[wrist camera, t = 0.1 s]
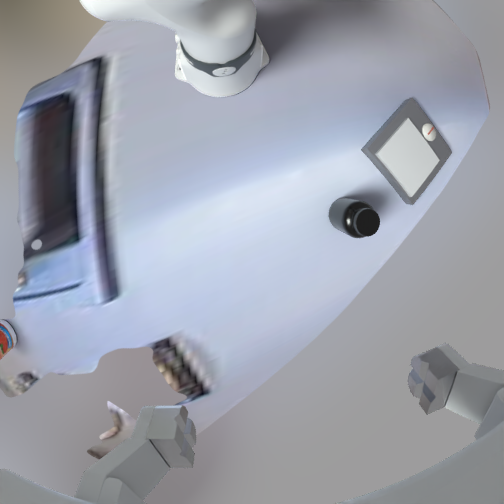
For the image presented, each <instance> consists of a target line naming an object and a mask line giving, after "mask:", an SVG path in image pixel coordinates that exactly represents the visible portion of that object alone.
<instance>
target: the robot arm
mask: <svg viewBox="0 0 504 504" xmlns="http://www.w3.org/2000/svg"><path fill="white" fill-rule="evenodd" d="M80 2H81V4H82V5H83V7H84V8H85V9H86V10H87V11H88V12H89V13H90V14H92V15H93V16H95V17H97V18H99V19H101V20H104V21H107V22H110V21H122V20H136V21H145V22H150V23H154V24H158V25H161V26H164V27H167V28H169V29H171V30H173V31H175V32H176V35H175V39H176V43H178V47H177V49H176V53H177V57H176V67H175V76H176V78H177V79H178V80H180V81H184V82H187V83H189V84H190V85H192V86H193V87H194V88H195V89H196V90H198V91H199V92H201V93H203V94H205V95H208V96H212V97H228V96H232V95H235V94H238V93H240V92H242V91H243V90H245V89H246V88H248V87H249V86H250V85H251V84H252V82H253V81H254V80H255V78H256V76H257V74H258V72H259V71H260V70H261V69H262V68H264V67H265V66H266V65H267V64H268V63H269V56H268V54H267V52H266V50H265V48H264V46H263V44H262V42H261V40H260V38H259V36H258V34H257V32H256V29H255V23H256V16H257V11H256V7H255V4H254V2H253V1H252V0H80ZM180 68H181V70H180ZM411 366H412V367H413V369H412V370H411V372H410V373H409V377H408V385H409V389H410V391H411V393H412V394H413V396H415V397H417V398H420V400H419V404H420V406H421V407H422V409H423V410H424V411H425V413H426V414H427V415H428V414H430V413H432V412H434V411H436V410H439V409H441V408H443V407H445V408H447V409H449V410H451V411H453V412H455V413H457V414H460V415H461V416H464V417H466V418H468V419H470V420H472V421H474V422H476V423H479V424H480V426H479V428H478V430H477V431H476V433H475V438H476V441H475V442H473V443H471V444H470V445H468V446H467V447H465V448H463V449H462V450H460V451H459V452H457V453H455V454H454V455H452V456H450V457H448V458H447V459H445V460H443V461H442V462H439V463H438V464H436V465H434V466H432V467H430V468H428V469H426V470H424V471H422V472H420V473H418V474H416V475H414V476H411V477H409V478H407V479H404V480H402V481H400V482H398V483H395V484H393V485H390V486H388V487H385V488H382V489H380V490H377V491H374V492H372V493H368V494H366V495H362V496H359V497H356V498H353V499H350V500H346V501H343V502H339V503H335V504H504V370H499V369H495V368H491V367H487V366H483V365H479V364H475V363H472V364H469V363H468V362H467V361H466V360H465V359H464V358H463V357H462V356H461V355H460V354H459V353H458V352H457V351H456V350H454V349H453V348H452V347H451V346H450V345H449V344H447V343H444V344H442V345H440V346H438V347H435V348H433V349H430V350H428V351H426V352H423V353H421V354H418V355H416V356H414V357H413V358H412V361H411ZM187 417H188V411H187V409H186V407H185V406H144V407H143V408H142V409H141V411H140V414H139V417H138V419H137V422H136V425H135V428H134V431H133V434H132V437H131V438H127V439H126V440H124V441H123V442H122V443H121V444H119V445H118V446H117V447H116V448H114V449H113V450H112V451H110V452H109V453H108V454H107V455H105V456H104V457H103V458H101V459H100V460H99V461H97V462H96V463H95V464H94V465H92V466H91V467H89V468H88V469H87V470H85V471H84V473H83V476H82V478H81V481H80V483H79V486H78V489H77V491H76V494H75V497H72V496H69V495H66V494H63V493H60V492H57V491H55V490H52V489H49V488H47V487H44V486H42V485H40V484H37V483H35V482H33V481H30V480H28V479H26V478H24V477H22V476H20V475H18V474H16V473H14V472H12V471H10V470H7V469H0V504H147V503H145V502H144V501H143V500H144V499H145V498H146V497H147V495H148V494H149V493H150V492H151V491H152V490H153V489H154V488H155V486H156V485H157V484H158V483H159V482H160V481H161V479H162V478H163V477H164V476H165V475H166V474H167V472H168V471H169V470H170V468H193V463H194V455H195V453H194V451H193V450H192V447H193V446H194V445H195V444H196V429H195V426H194V423H193V421H192V420H191V419H189V418H187Z"/></svg>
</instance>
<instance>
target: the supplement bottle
mask: <svg viewBox="0 0 504 504" xmlns="http://www.w3.org/2000/svg"><path fill="white" fill-rule="evenodd" d="M329 219H330V222H331V224H332V225H333V226H334V227H335V228H336V229H338V230H340V231H341V232H343V233H345V234H347V235H349V236H351V237H354V238H363V237H365V236H371V235H373V234H375V233H376V232H377V230H378V228H379V225H380V218H379V216H378V214H377V213H376V212H375V211H374V210H373V208H372V207H371V206H370V205H369V204H368V203H366V202H364V201H360V200H355V199H349V198H340V199H338V200H336V201H335V202H334V203H333V204H332V205H331V207H330V210H329Z"/></svg>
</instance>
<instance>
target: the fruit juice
mask: <svg viewBox="0 0 504 504" xmlns="http://www.w3.org/2000/svg"><path fill="white" fill-rule="evenodd" d="M16 342H17V337H16V334H15V332H14V330H13V328H12V327H11V325H10V324H9V323H8V322H6V321H5V320H0V360H1V359H2V358H3V357H4V356H5V355H6V354H7V353H8V352H9V351H10V350H11V349H12V348H13V347H14V346H15V345H16Z"/></svg>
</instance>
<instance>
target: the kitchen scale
mask: <svg viewBox="0 0 504 504" xmlns="http://www.w3.org/2000/svg"><path fill="white" fill-rule="evenodd" d="M361 150H362V151H363V152H364V153H365V155H366V156H367V157H368V158H369V159H370V160H371V161H372V162H373V164H374V165H375V166H376V167H377V168H378V169H379V171H380V172H381V173H382V174H383V175H384V177H385V178H386V179H387V180H388V181H389V183H390V184H391V185H392V186H393V188H394V189H395V190H396V191H397V193H398V194H399V195H400V197H401V198H402V199H403V201H404V202H405V203H406V204H411V205H413V204H414V203H415V202H416V200H417V199H418V198H419V197H420V195H421V194H422V193H423V191H424V190H425V189H426V188H427V186H428V185H429V184H430V182H431V181H432V180H433V178H434V177H435V176H436V174H437V173H438V171H439V170H440V169H441V167H442V166H443V165H444V163H445V162H446V160H447V159H448V158H449V156H450V155H451V153H452V152H451V150H450V148H449V147H448V145H447V144H446V142H445V141H444V139H443V138H442V136H441V135H440V134H439V132H438V131H437V129H436V128H435V127H434V125H433V124H432V122H431V121H430V120H429V118H428V117H427V116H426V114H425V113H424V112H423V111H422V109H421V108H420V107H419V105H418V104H417V103H416V102H415V100H414V99H413V98H410V99H407V100H405V101H404V102H403V103H402V104H401V106H400V107H399V108H398V109H397V110H396V111H395V112H394V113H393V114H392V116H391V117H390V118H389V119H388V120H387V121H386V122H385V123H384V125H383V126H382V127H381V128H380V129H379V130H378V131H377V132H376V133H375V135H374V136H373V137H372V138H371V139H370V140H369V141H368V142H367V143H366V145H365V146H364V147H363V148H362V149H361Z"/></svg>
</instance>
